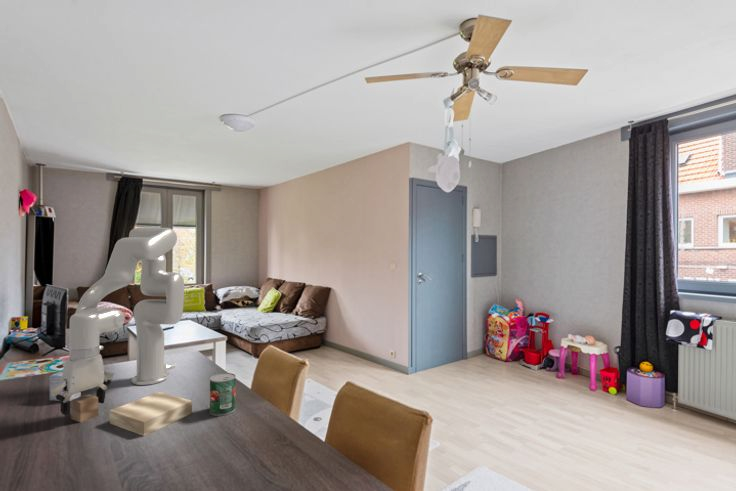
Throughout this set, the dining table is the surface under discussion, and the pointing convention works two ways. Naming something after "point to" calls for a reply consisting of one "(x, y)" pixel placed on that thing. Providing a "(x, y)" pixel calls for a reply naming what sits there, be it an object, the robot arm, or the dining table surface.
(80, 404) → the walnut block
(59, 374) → the medicine box
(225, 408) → the canned tomato
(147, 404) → the birch base
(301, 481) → the dining table surface
